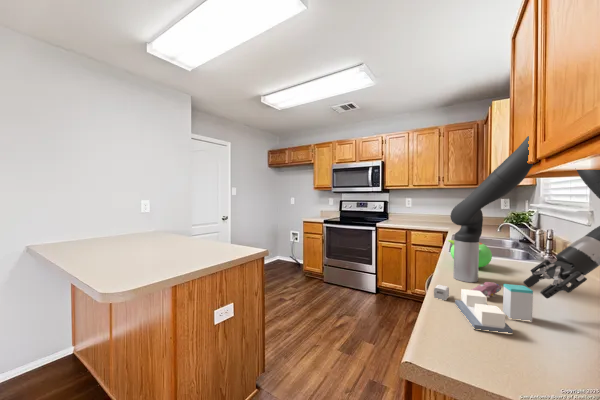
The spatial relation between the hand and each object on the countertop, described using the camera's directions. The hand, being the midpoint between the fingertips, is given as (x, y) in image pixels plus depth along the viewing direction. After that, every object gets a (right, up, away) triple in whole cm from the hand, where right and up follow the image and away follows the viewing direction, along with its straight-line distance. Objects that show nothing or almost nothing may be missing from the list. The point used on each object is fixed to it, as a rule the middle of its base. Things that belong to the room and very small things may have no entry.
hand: (534, 290), depth 76 cm
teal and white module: (-4, -9, +1) cm, 10 cm away
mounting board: (-16, -9, +1) cm, 18 cm away
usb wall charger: (-19, -9, +17) cm, 26 cm away
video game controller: (-2, -9, +17) cm, 19 cm away
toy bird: (+17, -8, +55) cm, 58 cm away
